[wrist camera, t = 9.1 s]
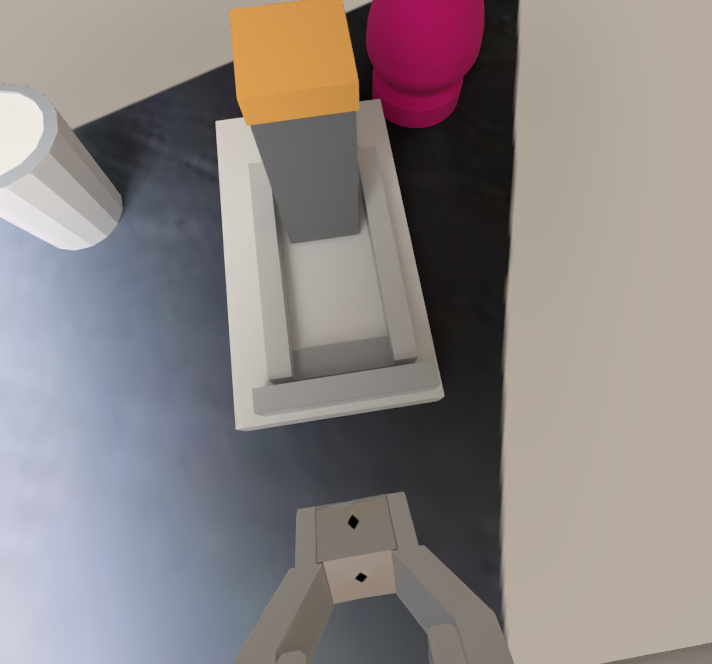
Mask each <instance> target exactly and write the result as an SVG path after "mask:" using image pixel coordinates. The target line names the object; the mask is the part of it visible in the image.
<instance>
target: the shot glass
mask: <svg viewBox="0 0 712 664" xmlns="http://www.w3.org/2000/svg"><path fill="white" fill-rule="evenodd" d="M122 211H123V207H122V198H121V195H120V194H119V192H118V191H117V190H116V188H115V187H114V185H113V184H112V183H111V181H110V180H109V179H108V177H107V176H106V175H105V173H104V172H103V171H102V169H101V168H100V167H99V165H98V164H97V163H96V161H95V160H94V159H93V157H92V156H91V155H90V153H89V152H88V151H87V150H86V148H85V147H84V146H83V144H82V143H81V142H80V140H79V139H78V138H77V136H76V135H75V134H74V132H73V131H72V130H71V128H70V127H69V126H68V124H67V123H66V122H65V120H64V119H63V118H62V117H61V115H60V114H59V113H58V111H57V110H56V108H55V107H54V106H53V105H52V103H51V102H50V100H49V99H48V98H47V97H46V95H44V94H42V93H40V92H38V91H37V90H35V89H33V88H31V87H29V86H26V85H16V84H5V83H2V84H0V217H1V218H3V219H5V220H7V221H9V222H10V223H12V224H14V225H16V226H18V227H20V228H22V229H24V230H26V231H27V232H29V233H31V234H33V235H35V236H37V237H39V238H41V239H42V240H44V241H46V242H48V243H50V244H52V245H54V246H56V247H58V248H59V249H68V250H79V249H83V248H87V247H91V246H94V245H95V244H97V243H98V242H100V241H102V240H103V239H105V238H107V237H108V236H109V234H110V233H111V232H112V231H113V230H114V228H115V227H116V226H117V225H118V223H119V220H120V217H121V214H122Z"/></svg>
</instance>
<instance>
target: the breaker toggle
mask: <svg viewBox="0 0 712 664" xmlns="http://www.w3.org/2000/svg"><path fill="white" fill-rule="evenodd" d="M229 13H230V25H231V36H232V48H233V60H234V71H235V83H236V95H237V100H238V103H239V106H240V109H241V111H242V114H243V117H244V120H245V123H246V125H247V126H249V125H250V127H251V130H252V133H253V136H254V139H255V142H256V145H257V147H258V150H259V153H260V156H261V159H262V162H263V165H264V168H265V170H266V173H267V176H268V179H269V182H270V185H271V188H272V191H273V194H274V196H275V199H276V202H277V205H278V208H279V211H280V214H281V217H282V219H283V222H284V225H285V228H286V231H287V234H288V237H289V240H290V242H291V244H295V243H301V242H308V241H315V240H322V239H329V238H336V237H343V236H350V235H356V234H359V224H358V175H357V127H356V111H359V80H358V75H357V70H356V65H355V60H354V55H353V50H352V45H351V40H350V35H349V30H348V25H347V20H346V15H345V10H344V5H343V0H301V1H294V2H286V3H278V4H270V5H262V6H255V7H248V8H240V9H231V10H229Z"/></svg>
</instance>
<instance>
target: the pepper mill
mask: <svg viewBox="0 0 712 664" xmlns="http://www.w3.org/2000/svg"><path fill="white" fill-rule="evenodd" d="M483 31H484V0H373V1H372V5H371V8H370V11H369V15H368V22H367V32H366V46H367V52H368V56H369V58H370V60H371V63H372V64H373V66H374V69H373V84H372V96H373V100H375V99H380V100H381V105H382V109H383V114H384V117H385V118H386V119H388V120H389V121H390V122H392V123H394V124H397V125H399V126H402V127H407V128H426V127H429V126H433V125H436V124H438V123H440V122H442V121H443V120H445V119H446V118H447V117H448V116H449V115H450V114H451V113H452V112H453V111H454V109H455V107H456V105H457V102H458V99H459V95H460V91H461V87H462V84H463V76H464V75H465V74H466V73H467V72H468V71H469V70H470V69H471V67H472V65H473V64H474V62H475V61H476V58H477V56H478V54H479V51H480V47H481V42H482V36H483Z"/></svg>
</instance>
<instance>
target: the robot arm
mask: <svg viewBox="0 0 712 664" xmlns="http://www.w3.org/2000/svg"><path fill="white" fill-rule="evenodd" d="M391 593H397V595H398V597H399V598H400V599H401V601H402V602H403V603H404V605H405V606H406V607H407V608H408V610H409V611H410V612H411V614H412V615H413V616H414V617H415V619H416V620H417V621H418V623H419V624H420V625H421V627H422V628H423V629H424V630H425V632H426V633H427V634H428V653H429V664H514V663H513V660H512V657H511V655H510V652H509V649H508V647H507V644H506V641H505V639H504V636H503V633H502V631H501V628H500V626H499V623H498V620H497V618H496V615H495V613H494V612H493V611H492V610H491V609H490V608H489V607H488V606H487V605H486V604H485V603H484V602H483V601H482V600H481V599H480V598H478V597H477V596H476V595H475V594H474V593H473V592H472V591H471V590H470V589H469V588H468V587H467V586H466V585H465V584H464V583H463V582H462V581H461V580H460V579H459V578H458V577H457V576H456V575H455V574H454V573H453V572H451V571H450V570H449V569H448V568H447V567H446V566H445V565H444V564H443V563H442V562H441V561H440V560H439V559H438V558H437V557H436V556H435V555H434V554H433V553H432V552H431V551H430V550H429V549H428V548H427V547H425V546H424V545H422V546H419V545H418V541H417V537H416V533H415V530H414V526H413V522H412V518H411V514H410V511H409V507H408V503H407V499H406V495H405V494H404V492H398V493H392V494H386V495H385V494H383V495H378V496H373V497H367V498H362V499H356V500H351V501H349V502H342V503H335V504H328V505H321V506H314V507H308V508H302V509H298V511H297V515H296V552H295V568H291V569H289V571H288V572H287V574H286V576H285V577H284V579H283V581H282V582H281V584H280V586H279V587H278V589H277V591H276V592H275V594H274V595H273V597H272V599H271V600H270V602H269V604H268V605H267V607H266V609H265V610H264V612H263V614H262V615H261V617H260V619H259V620H258V622H257V624H256V625H255V627H254V629H253V630H252V632H251V634H250V635H249V637H248V639H247V640H246V642H245V644H244V645H243V647H242V648H241V650H240V652H239V653H238V655H237V657H236V658H235V660H234V664H310V662H311V660H312V658H313V655H314V653H315V650H316V648H317V645H318V643H319V640H320V638H321V636H322V633H323V631H324V628H325V626H326V623H327V621H328V619H329V616H330V614H331V611H332V609H333V604H336V603H340V602H345V601H350V600H355V599H359V598H364V597H371V596H377V595H384V594H391ZM602 664H712V643H708V644H702V645H697V646H692V647H687V648H682V649H676V650H671V651H666V652H660V653H655V654H650V655H644V656H639V657H634V658H629V659H623V660H618V661H613V662H608V663H602Z"/></svg>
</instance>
